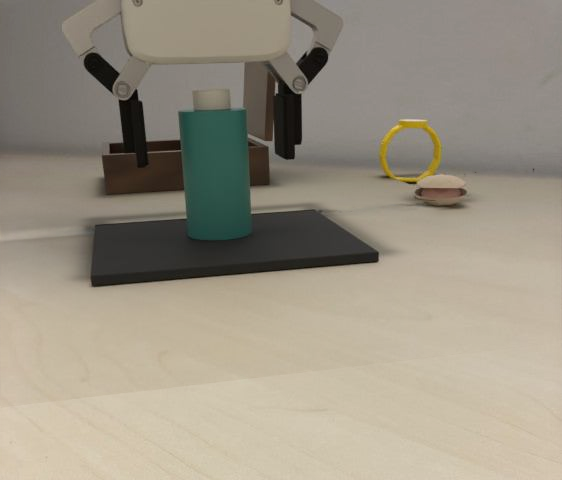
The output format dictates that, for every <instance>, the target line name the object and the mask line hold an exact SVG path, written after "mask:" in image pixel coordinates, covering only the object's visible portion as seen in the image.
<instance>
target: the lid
mask: <svg viewBox="0 0 562 480" xmlns="http://www.w3.org/2000/svg"><path fill="white" fill-rule="evenodd" d="M276 84H277V82H276V81H275V79H274V78H273V77H272V76H271V74H270V73H269V72H268V71H267V69H266V68H265V67H264V65H263V64H262V63H261V62H260V61H256V62H244V70H243V95H242V97H243V98H242V108H246V109H247V131H248V135H250V136H252V137H255V138H257V139H259V140H261V141H264V142H274V141H273V140H274V112H273V96H276V94H275V93H276Z"/></svg>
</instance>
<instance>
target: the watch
mask: <svg viewBox="0 0 562 480" xmlns="http://www.w3.org/2000/svg"><path fill="white" fill-rule="evenodd" d="M428 124H429V123H428V120H427V119H416V118H415V119H414V118H413V119H412V118H404V119H399V120H398V124H397V125H395V126H393V127H392V128H390V130H388V131H387V133H386V134H385V136H384V138H383V139H382V140H381V143H380V147H379V152H378V160H379V164H380V167H381V170H382V172H383V173H384V174H385V176H387V177H389V178H391V179H394V180H396V181H400V182H402V183H417V181H420V180H422V179H424V178H425V177H427V176H433V175H435V173H436V171H437V169H438V167H439V165H440V163H441V160H442V143H441V141H440V138H439V136H438V134H437V132H436V131H435V130H434V129H433V128H431V127H430V126H429V125H428ZM404 129H422V131H424V132H425V133H426V134H428V135H429V137H430V139H431V142H432V145H433V157H432V160H431V162H430V164H429V166H428V167H427V170H425V172H423V173H422V174H421V175H419V176H418V177H403V176H401V177H400V176H395V175H394V174H393V172H392V171H390V168H389V165H388V162H387V159H386V158H387V152H388V148H389V147H388V145H389V144H390V142H391V141H392V139H393V138H394V136H395V135H396V134H397V133H399V132H401V131H403V130H404Z"/></svg>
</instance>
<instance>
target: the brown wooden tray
mask: <svg viewBox="0 0 562 480" xmlns="http://www.w3.org/2000/svg"><path fill="white" fill-rule="evenodd" d="M146 143H147V153H148V163H149V165H146V167H145V168H137V164H136V158H135V153H128V154H125V153H124V145H123V141H115V142H113V141H112V142H103V143H102V147H101V162H102V169H103V170H102V171H103V178H104V186H105V193H106V196H117V195H130V194H131V195H133V194H134V195H135V194H147V193H164V192H179V191H180V192H181V191H182V192H183V191H184V179H183V167H182V154H181V142H180V138H179V139H178V138H174V139H155V140H154V139H153V140H146ZM269 149H270V147H269V146H268V145H266V144H264V143H262V142H259V141H258V140H255V139H253V138H251V137H249V136H248V154H249V176H250V187H257V186H258V187H261V186H270V185H271V178H270V176H271V175H270V173H271V172H270V150H269Z"/></svg>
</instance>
